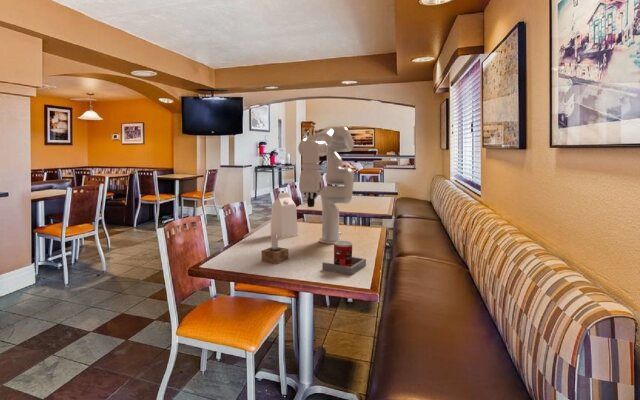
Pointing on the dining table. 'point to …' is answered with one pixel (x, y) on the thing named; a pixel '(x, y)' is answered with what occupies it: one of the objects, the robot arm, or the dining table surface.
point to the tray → (345, 269)
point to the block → (275, 255)
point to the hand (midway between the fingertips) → (310, 206)
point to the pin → (274, 242)
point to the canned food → (343, 253)
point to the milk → (284, 217)
